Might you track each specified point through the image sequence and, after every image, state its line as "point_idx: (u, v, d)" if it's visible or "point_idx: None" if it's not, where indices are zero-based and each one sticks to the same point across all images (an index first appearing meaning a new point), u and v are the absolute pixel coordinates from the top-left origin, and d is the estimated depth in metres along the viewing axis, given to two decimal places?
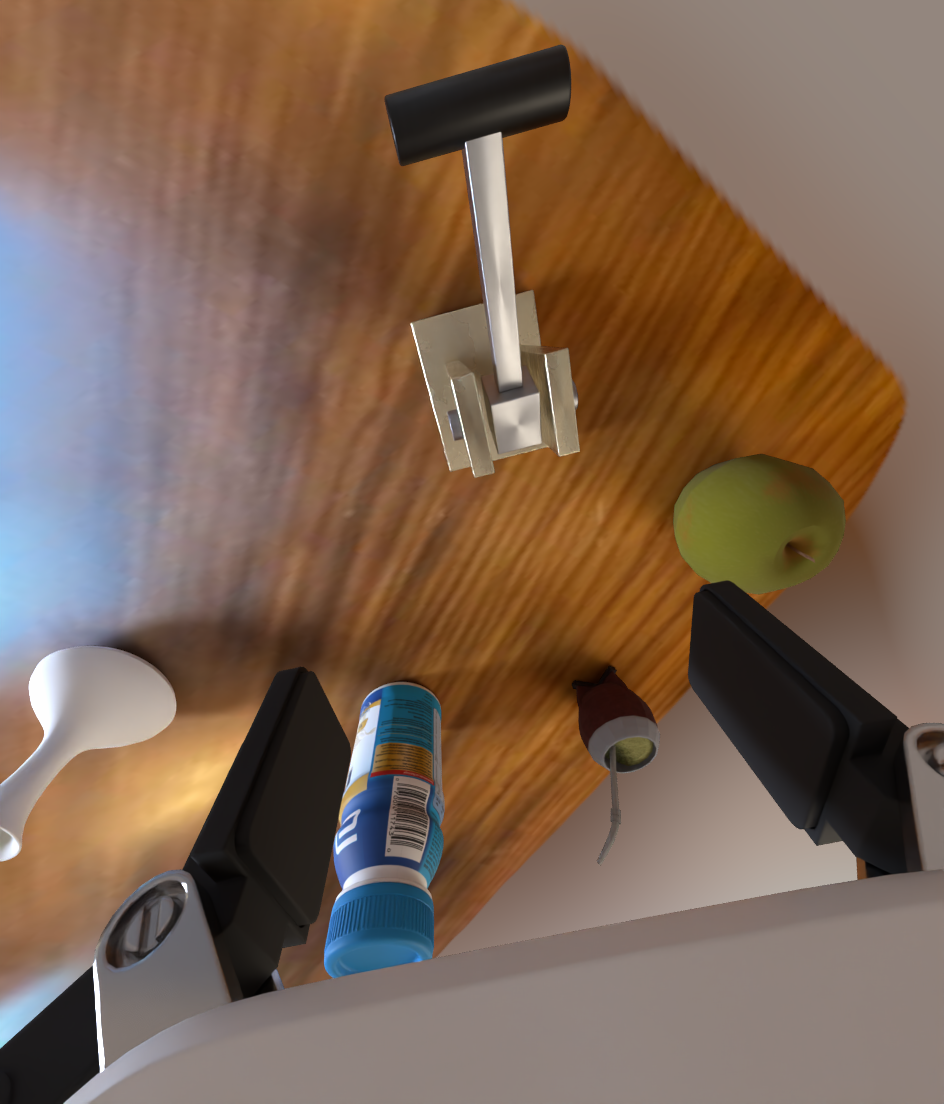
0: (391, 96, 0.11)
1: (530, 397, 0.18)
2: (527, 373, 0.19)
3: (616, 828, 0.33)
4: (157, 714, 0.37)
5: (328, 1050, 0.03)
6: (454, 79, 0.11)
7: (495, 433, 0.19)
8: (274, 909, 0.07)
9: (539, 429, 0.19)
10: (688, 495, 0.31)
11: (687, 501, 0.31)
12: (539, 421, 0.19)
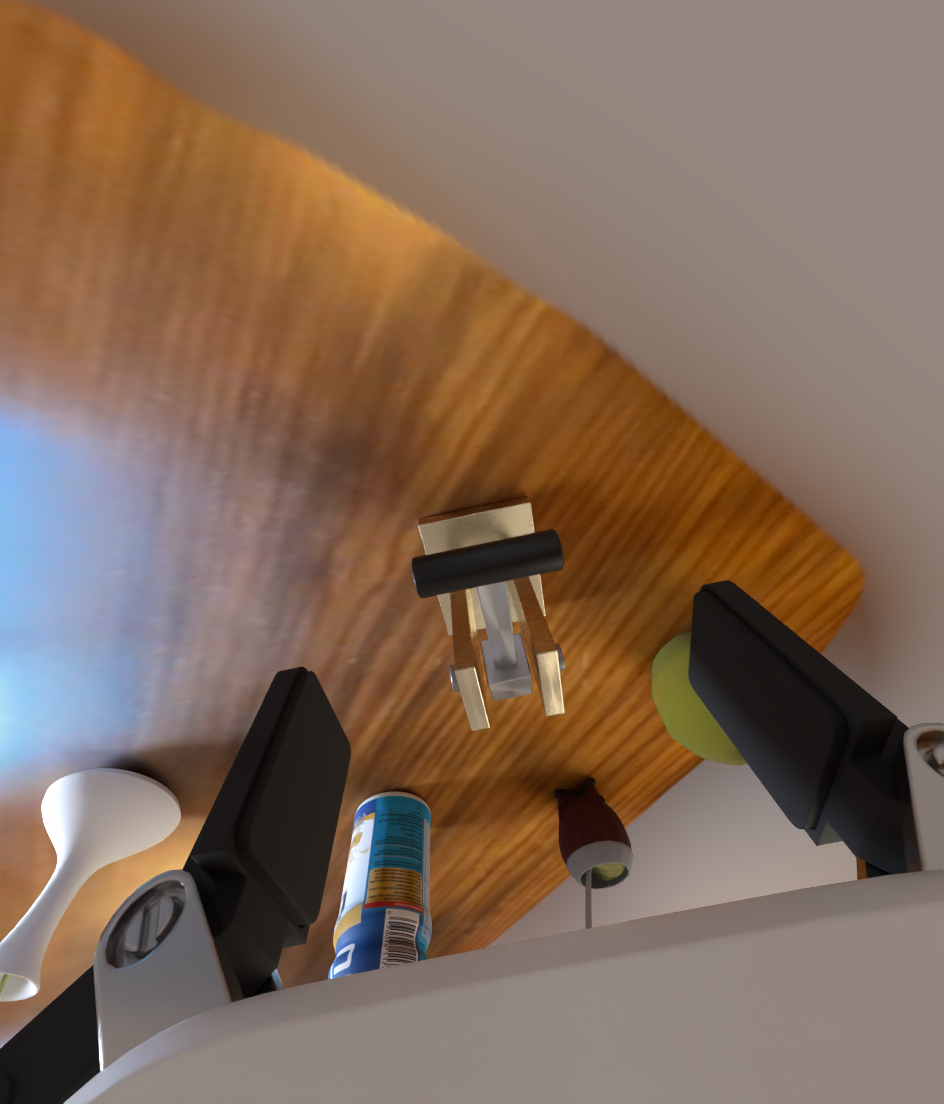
0: (417, 571, 0.14)
1: (523, 678, 0.21)
2: (521, 646, 0.21)
3: None
4: (163, 829, 0.39)
5: (328, 1050, 0.03)
6: (469, 562, 0.14)
7: (491, 693, 0.22)
8: (274, 909, 0.07)
9: (530, 689, 0.22)
10: (665, 664, 0.34)
11: (663, 670, 0.34)
12: (530, 686, 0.22)
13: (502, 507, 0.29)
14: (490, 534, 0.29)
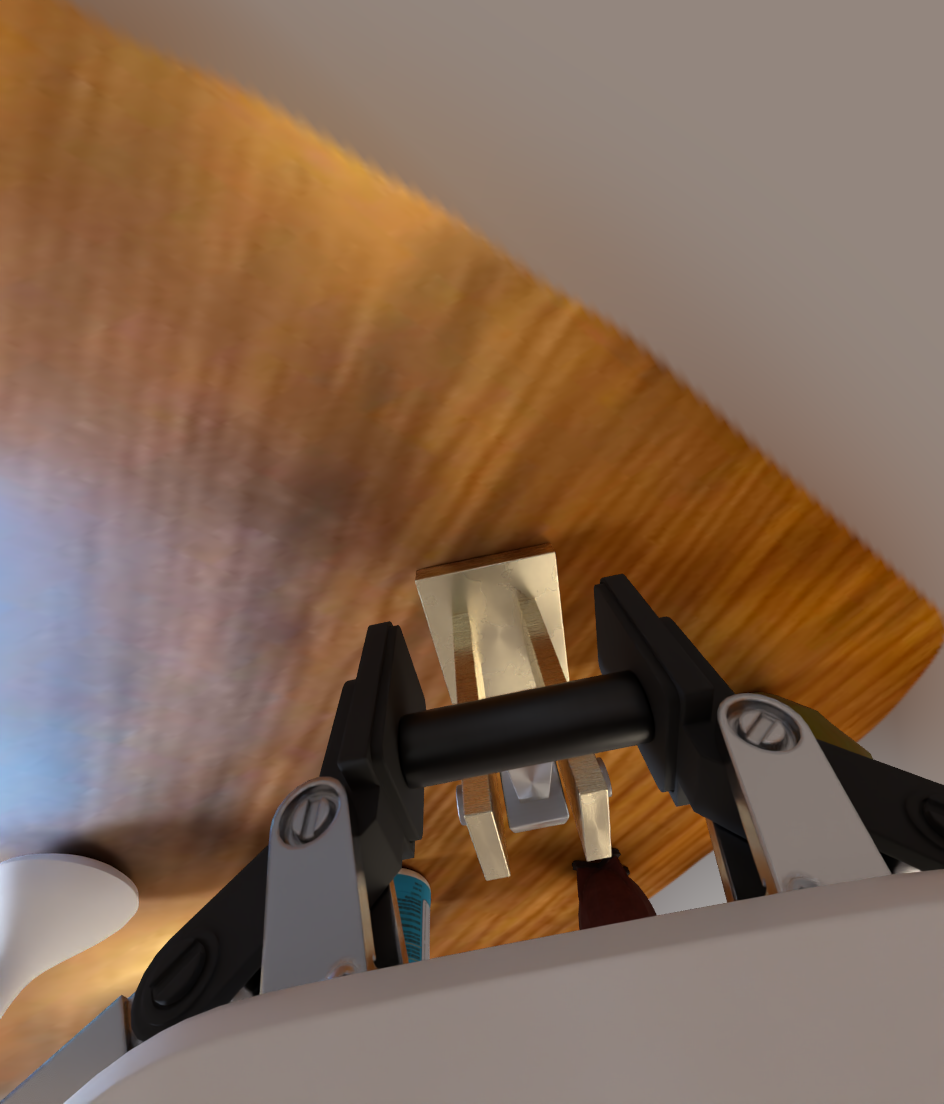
0: (407, 752, 0.08)
1: (558, 820, 0.15)
2: (553, 768, 0.16)
3: None
4: (116, 921, 0.33)
5: (328, 1050, 0.03)
6: (495, 740, 0.08)
7: (513, 831, 0.16)
8: (396, 819, 0.08)
9: (564, 822, 0.16)
10: None
11: None
12: (565, 820, 0.16)
13: (519, 558, 0.23)
14: (504, 590, 0.24)
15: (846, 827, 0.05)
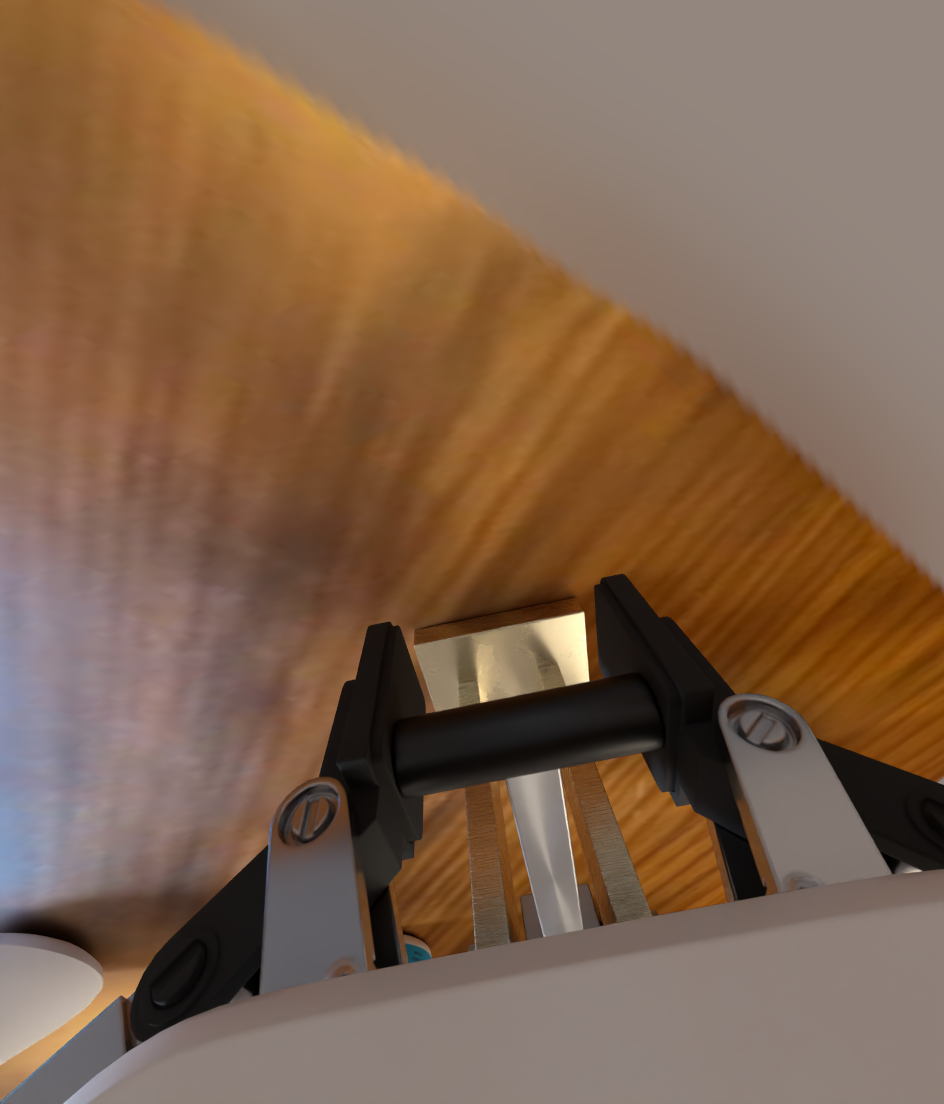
0: (401, 741, 0.08)
1: None
2: (592, 912, 0.12)
3: None
4: (75, 1007, 0.29)
5: (329, 1051, 0.03)
6: (492, 727, 0.08)
7: None
8: (395, 820, 0.08)
9: None
10: None
11: None
12: None
13: (541, 618, 0.19)
14: (521, 654, 0.20)
15: (847, 827, 0.05)
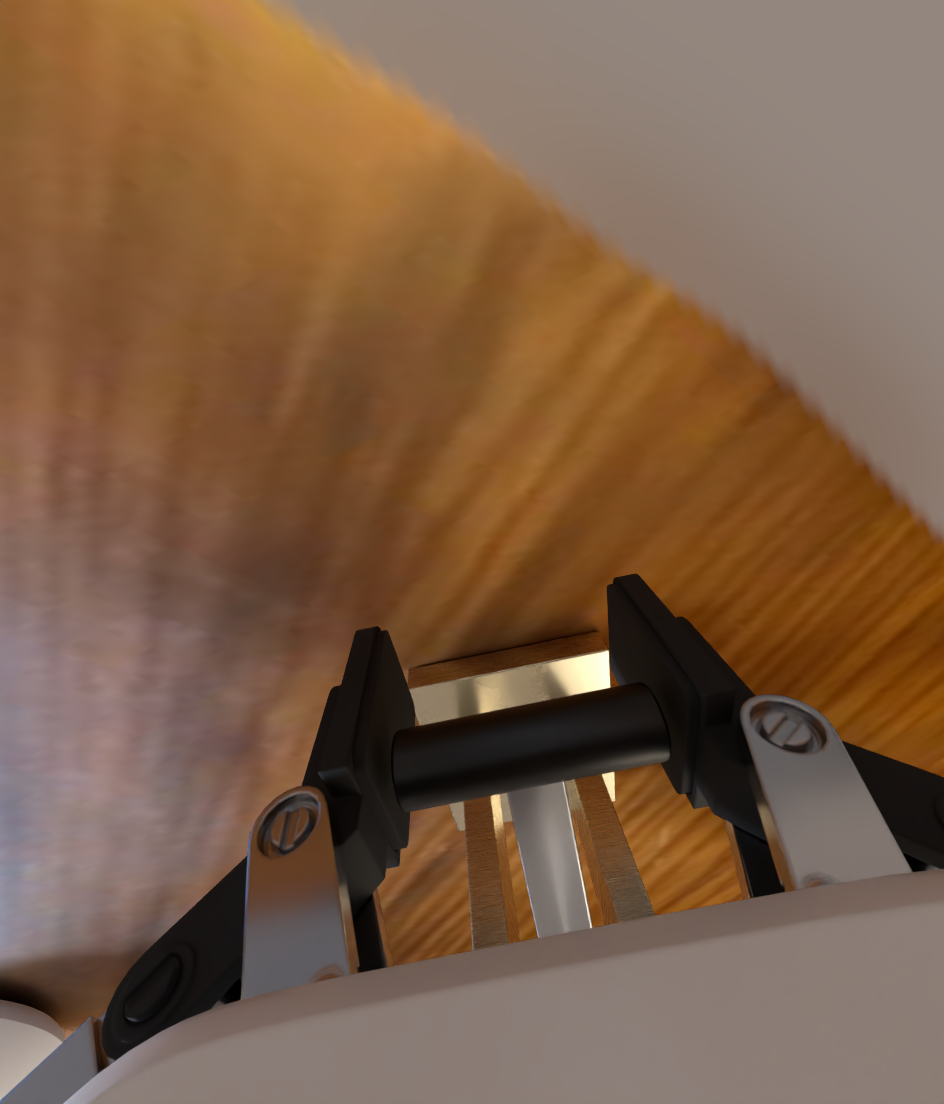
0: (400, 742, 0.08)
1: None
2: None
3: None
4: None
5: (330, 1050, 0.03)
6: (492, 727, 0.08)
7: None
8: (379, 828, 0.08)
9: None
10: None
11: None
12: None
13: (557, 658, 0.16)
14: (534, 699, 0.17)
15: (871, 832, 0.05)
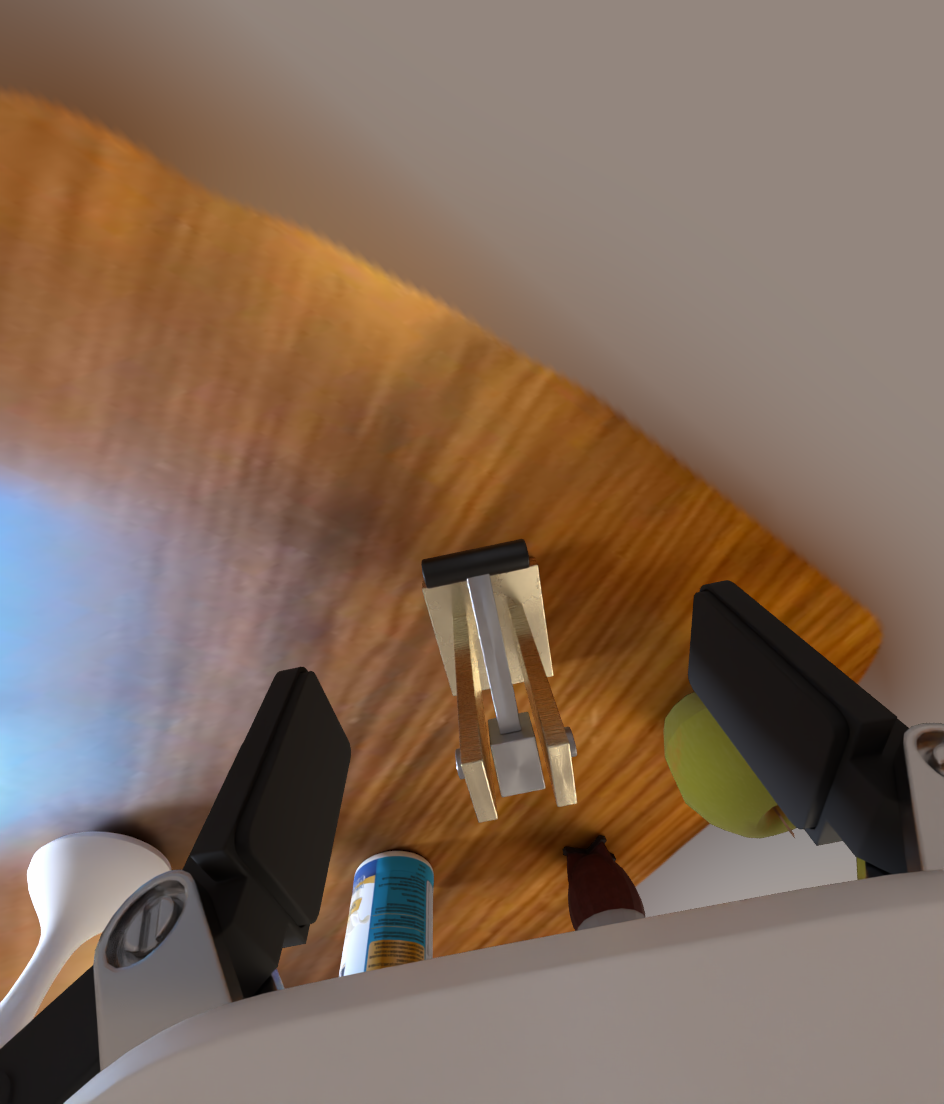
0: (425, 560, 0.20)
1: (527, 740, 0.20)
2: (527, 719, 0.21)
3: None
4: None
5: (329, 1051, 0.03)
6: (461, 553, 0.20)
7: (497, 773, 0.20)
8: (274, 909, 0.07)
9: (540, 773, 0.20)
10: (678, 726, 0.32)
11: (676, 732, 0.32)
12: (539, 764, 0.20)
13: None
14: (496, 596, 0.29)
15: None
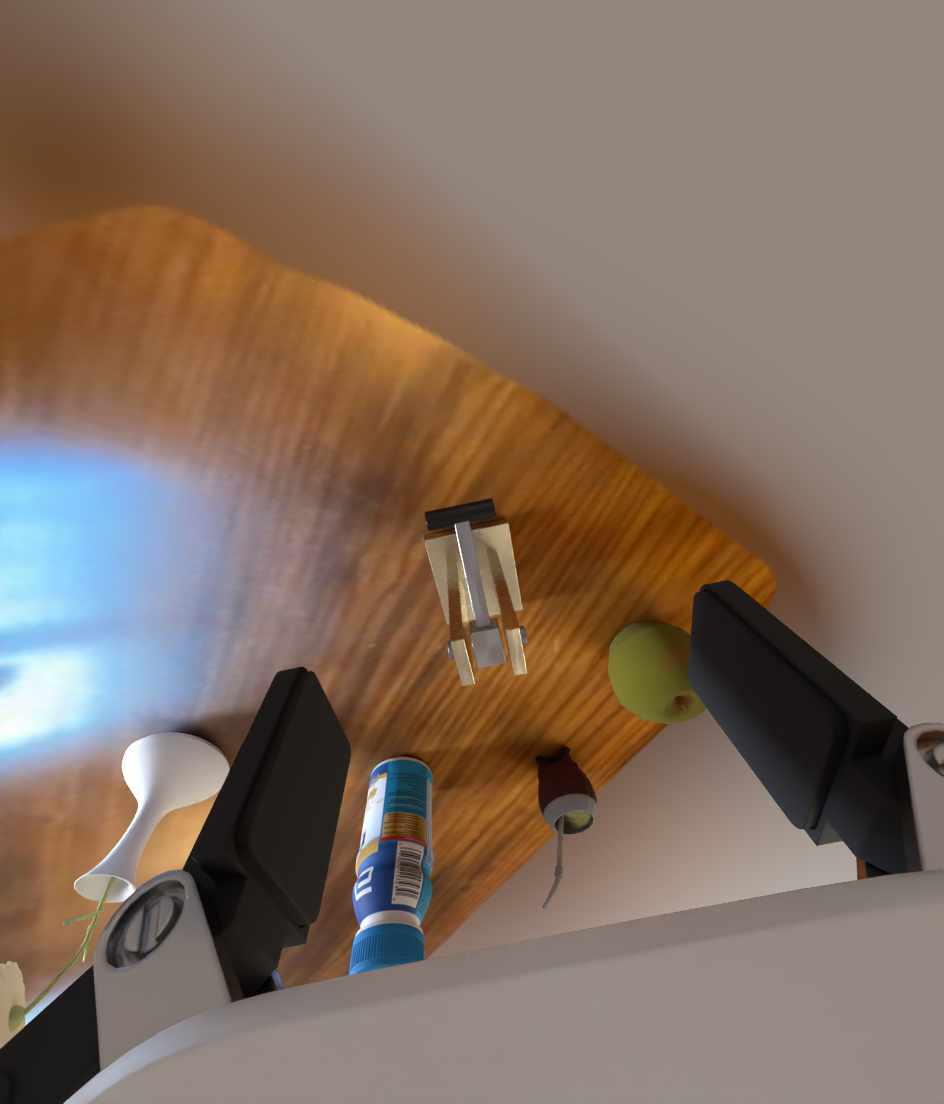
0: (427, 512, 0.30)
1: (493, 630, 0.30)
2: (495, 620, 0.32)
3: (558, 882, 0.45)
4: (216, 783, 0.48)
5: (329, 1051, 0.03)
6: (450, 507, 0.30)
7: (474, 652, 0.31)
8: (274, 909, 0.07)
9: (502, 652, 0.31)
10: (616, 647, 0.43)
11: (615, 652, 0.43)
12: (501, 646, 0.31)
13: (487, 527, 0.38)
14: (478, 547, 0.39)
15: None
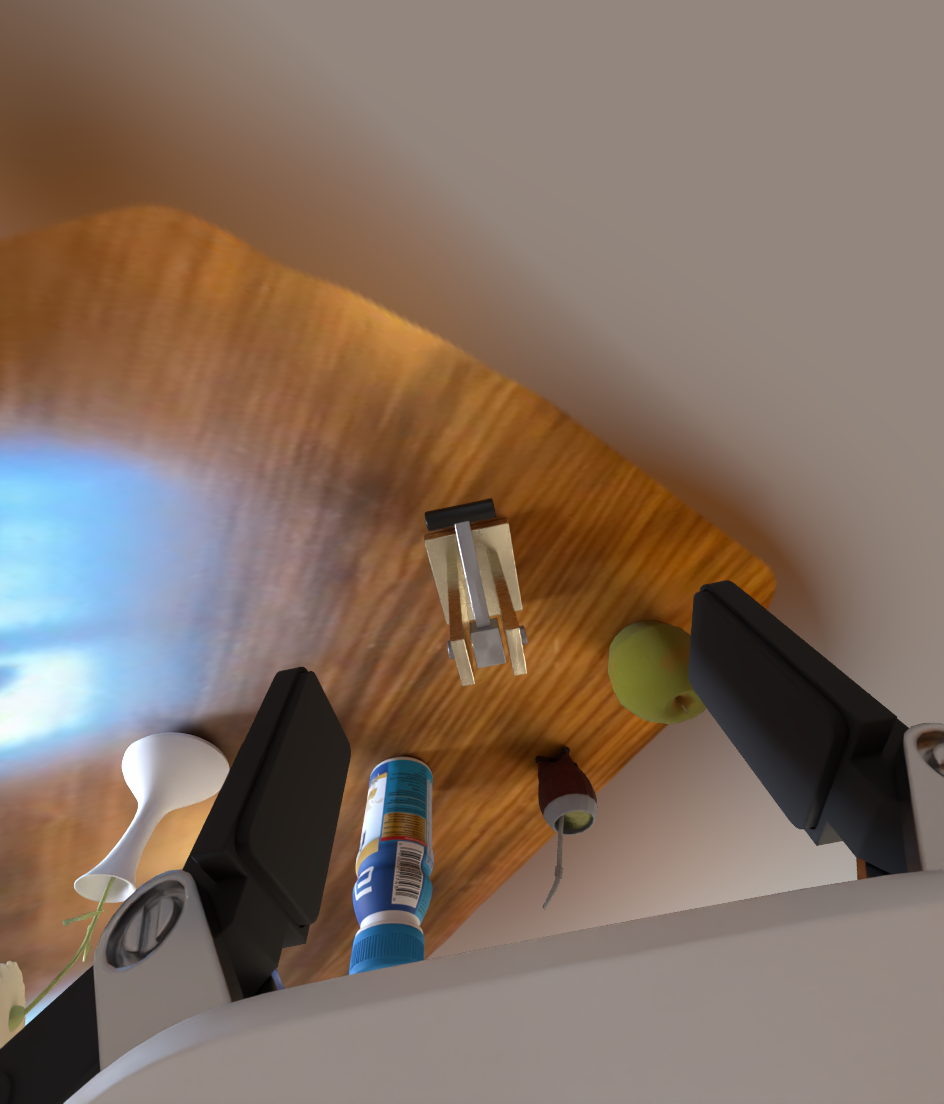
0: (427, 512, 0.30)
1: (493, 630, 0.30)
2: (495, 620, 0.32)
3: (558, 882, 0.45)
4: (216, 783, 0.48)
5: (330, 1050, 0.03)
6: (450, 507, 0.30)
7: (474, 652, 0.31)
8: (274, 909, 0.07)
9: (502, 652, 0.31)
10: (616, 647, 0.43)
11: (615, 652, 0.43)
12: (501, 646, 0.31)
13: (487, 527, 0.38)
14: (478, 547, 0.39)
15: None
